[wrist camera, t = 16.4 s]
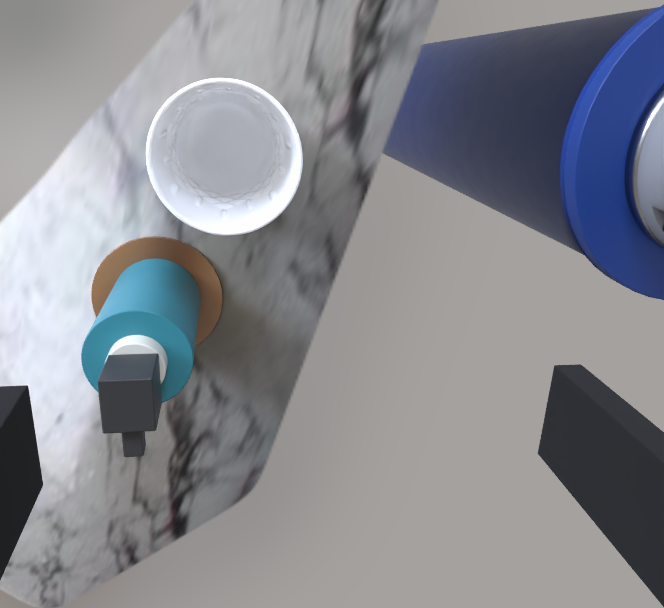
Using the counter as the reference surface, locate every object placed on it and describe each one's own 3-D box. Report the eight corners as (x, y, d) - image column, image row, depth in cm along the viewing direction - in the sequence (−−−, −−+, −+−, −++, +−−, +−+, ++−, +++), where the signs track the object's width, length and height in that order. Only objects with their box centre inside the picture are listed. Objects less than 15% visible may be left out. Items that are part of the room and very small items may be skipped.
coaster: (221, 236, 42) (221, 237, 42) (223, 353, 45) (223, 354, 45) (85, 236, 41) (85, 237, 40) (98, 357, 44) (97, 358, 44)
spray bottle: (109, 258, 41) (54, 344, 28) (199, 257, 42) (186, 340, 29) (117, 348, 44) (70, 466, 30) (202, 346, 45) (191, 459, 31)
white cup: (181, 59, 38) (166, 54, 29) (300, 100, 40) (322, 108, 31) (153, 180, 40) (130, 212, 31) (267, 213, 42) (278, 252, 33)
